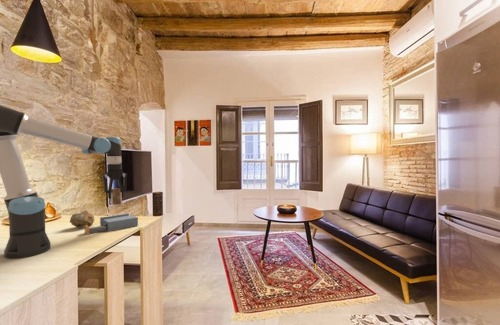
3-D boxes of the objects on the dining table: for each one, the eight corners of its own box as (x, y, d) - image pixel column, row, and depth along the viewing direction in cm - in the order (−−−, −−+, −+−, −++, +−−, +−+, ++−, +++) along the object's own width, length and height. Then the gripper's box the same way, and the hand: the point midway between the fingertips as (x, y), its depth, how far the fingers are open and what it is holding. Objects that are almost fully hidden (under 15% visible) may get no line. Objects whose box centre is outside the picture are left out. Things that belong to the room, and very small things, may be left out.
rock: (84, 229, 144) (84, 212, 144) (67, 229, 144) (66, 212, 144) (97, 224, 156) (97, 208, 156) (81, 224, 156) (81, 208, 156)
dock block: (108, 231, 140) (108, 222, 140) (100, 225, 152) (100, 217, 152) (137, 225, 151) (137, 217, 151) (128, 221, 163) (127, 213, 163)
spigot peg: (113, 205, 143) (112, 189, 143) (111, 204, 146) (110, 188, 146) (120, 204, 146) (120, 188, 145) (119, 203, 149) (118, 188, 148)
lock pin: (86, 234, 133) (86, 227, 133) (84, 232, 137) (84, 225, 137) (115, 229, 143) (115, 222, 143) (113, 227, 147) (113, 220, 146)
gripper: (99, 164, 137) (100, 206, 137) (132, 163, 148) (133, 202, 149) (96, 164, 142) (98, 205, 143) (128, 163, 154) (129, 200, 154)
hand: (116, 203), depth 146 cm, fingers closed on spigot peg, 4 cm apart
